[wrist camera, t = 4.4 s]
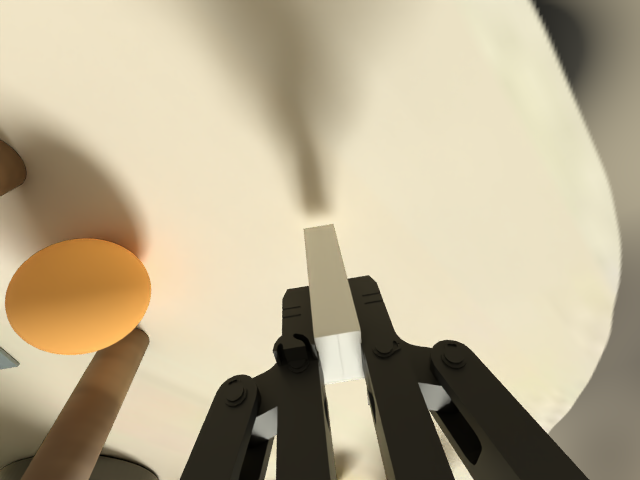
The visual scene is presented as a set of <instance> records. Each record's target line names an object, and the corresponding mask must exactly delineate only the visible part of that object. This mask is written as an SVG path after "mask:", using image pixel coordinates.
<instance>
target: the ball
mask: <svg viewBox="0 0 640 480" xmlns="http://www.w3.org/2000/svg"><path fill="white" fill-rule="evenodd" d="M150 297H151V283H150V279H149V276H148V273H147V270H146V269H145V267H144V265H143V264H142V262H141V261H140V260H139V259H138V258H137V257H136V256H135V255H134V254H133V253H131V252H130V251H129V250H127V249H126V248H124V247H122V246H120V245H118V244H115V243H112V242H109V241H105V240H100V239H92V238H82V239H72V240H66V241H62V242H59V243H56V244H53V245H50V246H48V247H46V248H44V249H42V250H40V251H38V252H37V253H35V254H34V255H32V256H31V257H30V258H29V259H28V260H26V261H25V262H24V263H23V264H22V265H21V266H20V267H19V268H18V270H17V271H16V273H15V274H14V275H13V277H12V279H11V281H10V283H9V286H8V288H7V292H6V296H5V309H6V314H7V317H8V320H9V322H10V325H11V326H12V328H13V329H14V331H15V332H16V333H17V334H18V335H19V336H20V337H21V338H22V339H23V340H24V341H26V342H27V343H28V344H30V345H32V346H34V347H36V348H38V349H40V350H43V351H46V352H50V353H55V354H63V355H77V354H85V353H90V352H95V351H98V350H101V349H104V348H106V347H108V346H111V345H113V344H114V343H116V342H118V341H119V340H121V339H123V338H124V337H125V336H126V335H128V334H129V333H130V332H131V331H132V330H133V329H134V328H135V327H136V326H137V325H138V323H139V322H140V321H141V319H142V318H143V316H144V314H145V312H146V310H147V308H148V305H149V302H150Z"/></svg>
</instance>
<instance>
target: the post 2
mask: <svg viewBox="0 0 640 480" xmlns="http://www.w3.org/2000/svg"><path fill="white" fill-rule="evenodd" d="M148 344H149V337H148V336H147V335H146V334H145V333H144V332H143V331H141V330H139V329H137V328H134V329H133V330H132V331H131V332H130V333H129V334H128V335H126V336H125V337H124V338H123V339H121V340H119V341H118V342H116V343H114V344H113V345H111V346H108V347H106V348H104V349H101V350H98V351H97V352H96V354H95V356H94V357H93V359H92V361H91V362H90V364H89V366H88V367H87V369H86V371H85V372H84V374H83V376H82V377H81V379H80V381H79V382H78V384H77V386H76V387H75V389H74V391H73V392H72V394H71V396H70V398H69V399H68V401H67V403H66V404H65V406H64V408H63V409H62V411H61V413H60V414H59V416H58V418H57V419H56V421H55V423H54V424H53V426H52V428H51V429H50V431H49V433H48V434H47V436H46V438H45V439H44V441H43V443H42V444H41V446H40V448H39V449H38V451H37V453H36V454H35V456H34V458H33V459H32V461H31V463H30V465H29V466H28V468H27V470H26V471H25V473H24V475H23V476H22V478H21V480H89V478H90V475H91V473H92V471H93V468H94V466H95V464H96V462H97V459H98V457H99V455H100V453H101V450H102V448H103V446H104V444H105V441H106V439H107V437H108V435H109V432H110V430H111V428H112V426H113V423H114V421H115V419H116V417H117V414H118V412H119V410H120V408H121V405H122V403H123V401H124V399H125V396H126V394H127V392H128V390H129V387H130V385H131V383H132V381H133V378H134V376H135V374H136V372H137V369H138V367H139V365H140V363H141V360H142V358H143V356H144V354H145V351H146V349H147V347H148Z"/></svg>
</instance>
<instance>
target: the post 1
mask: <svg viewBox="0 0 640 480" xmlns="http://www.w3.org/2000/svg"><path fill="white" fill-rule="evenodd" d="M25 178H26V168H25V165H24V163H23V161H22V159H21V158H20V156H19V155H18V154H17V153H16V152H15V151H14V150H13V149H12V148H11V147H10V146H9V145H7V144H6V143H5V142H3V141H1V140H0V196H2V195H4V194H5V193H7V192H9V191H11V190H12V189H14V188H16V187H18V186H19V185H21V184H22V183H23V182H24V180H25Z"/></svg>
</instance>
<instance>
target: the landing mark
mask: <svg viewBox="0 0 640 480" xmlns="http://www.w3.org/2000/svg"><path fill="white" fill-rule="evenodd" d="M18 365H19V363H18V362H17V361H16V360H14V359H13V358H12V357H11V356H10V355H9V354H7V353H6V352H5V351H4V350H3V349H1V348H0V369H6V368H12V367H18Z"/></svg>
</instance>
